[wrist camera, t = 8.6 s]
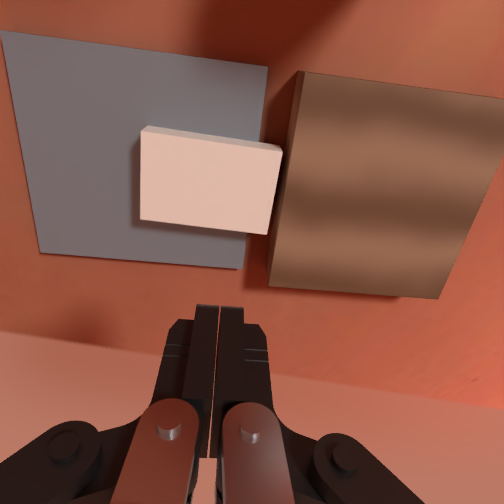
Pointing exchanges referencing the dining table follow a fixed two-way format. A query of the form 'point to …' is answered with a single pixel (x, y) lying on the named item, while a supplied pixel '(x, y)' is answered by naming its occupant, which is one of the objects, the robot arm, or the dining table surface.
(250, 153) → the cream tile
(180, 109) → the slate mat
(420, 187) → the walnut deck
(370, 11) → the dining table surface
